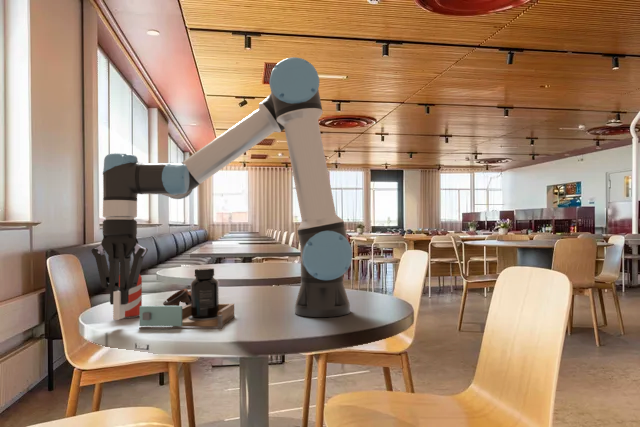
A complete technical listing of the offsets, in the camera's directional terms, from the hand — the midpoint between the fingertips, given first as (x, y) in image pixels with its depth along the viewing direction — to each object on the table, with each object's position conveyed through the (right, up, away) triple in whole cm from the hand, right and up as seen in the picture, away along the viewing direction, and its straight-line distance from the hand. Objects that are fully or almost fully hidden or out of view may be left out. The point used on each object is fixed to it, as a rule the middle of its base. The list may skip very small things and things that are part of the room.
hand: (119, 318), depth 108 cm
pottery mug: (+11, -3, +17) cm, 20 cm away
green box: (+10, -2, -1) cm, 10 cm away
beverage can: (-4, -3, +15) cm, 16 cm away
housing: (+15, -2, +6) cm, 17 cm away
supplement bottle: (+19, -1, +7) cm, 20 cm away
